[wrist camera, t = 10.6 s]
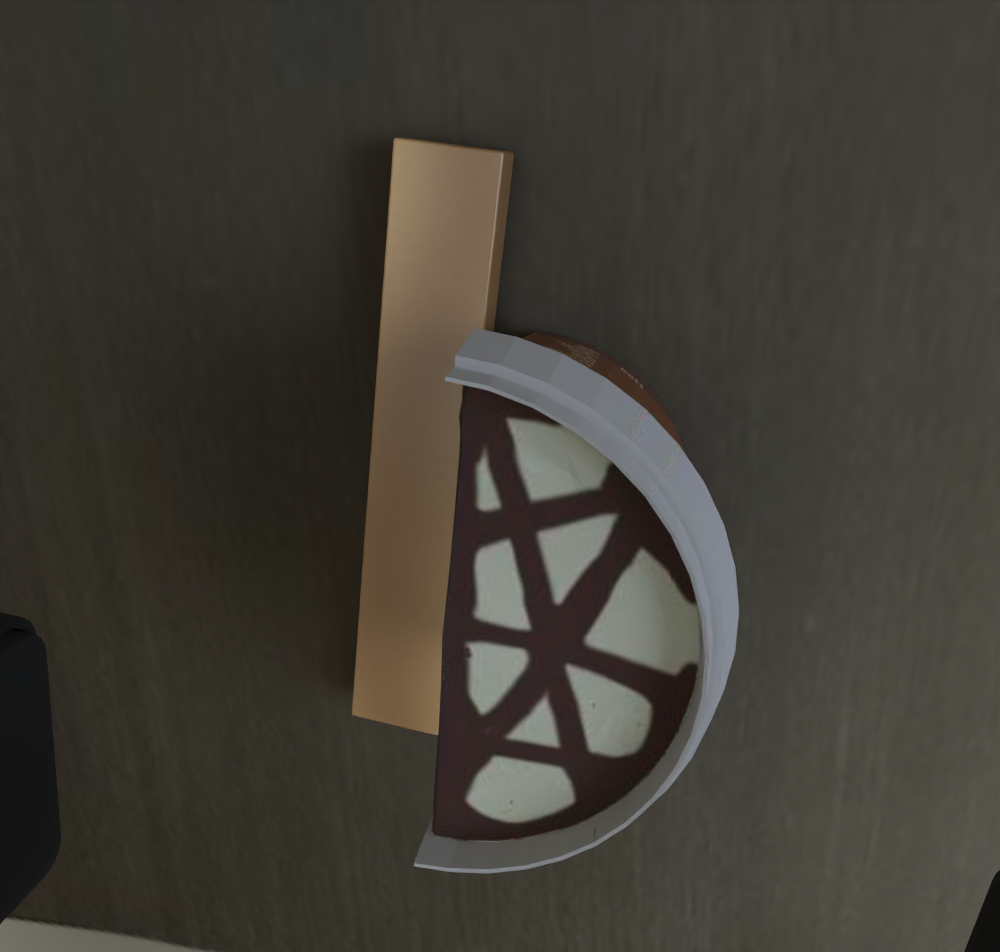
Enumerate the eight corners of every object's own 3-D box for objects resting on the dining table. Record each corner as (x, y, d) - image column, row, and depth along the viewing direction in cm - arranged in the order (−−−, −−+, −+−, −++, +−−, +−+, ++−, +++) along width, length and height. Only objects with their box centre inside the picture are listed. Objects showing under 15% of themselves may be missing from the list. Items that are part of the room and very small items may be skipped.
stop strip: (515, 151, 25) (504, 151, 24) (449, 712, 31) (437, 736, 30) (409, 138, 25) (392, 137, 24) (365, 693, 32) (350, 715, 30)
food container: (696, 697, 29) (687, 950, 20) (505, 661, 30) (412, 885, 21) (768, 304, 25) (799, 394, 16) (542, 278, 26) (446, 347, 17)
